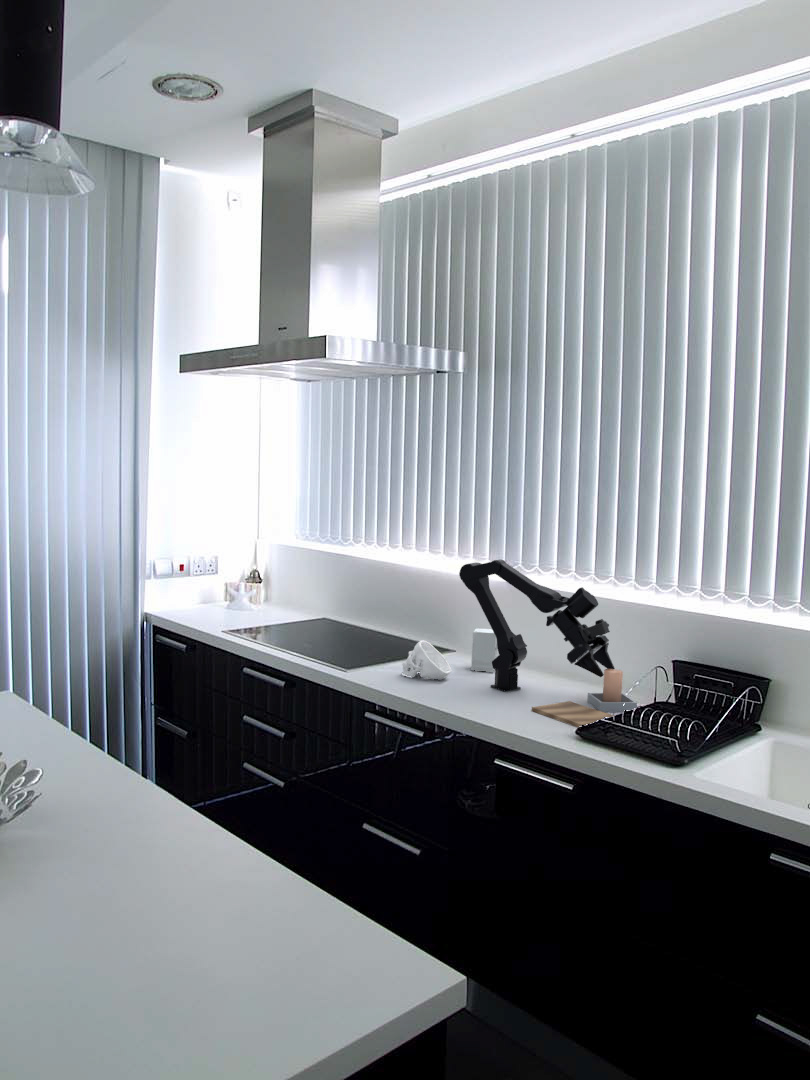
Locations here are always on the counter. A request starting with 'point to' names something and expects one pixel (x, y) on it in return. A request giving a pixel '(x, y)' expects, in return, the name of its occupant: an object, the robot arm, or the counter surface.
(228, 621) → the counter surface
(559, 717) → the walnut board
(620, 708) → the grey box
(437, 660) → the skull bowl
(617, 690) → the pink tall rounded piece
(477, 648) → the supplement box
